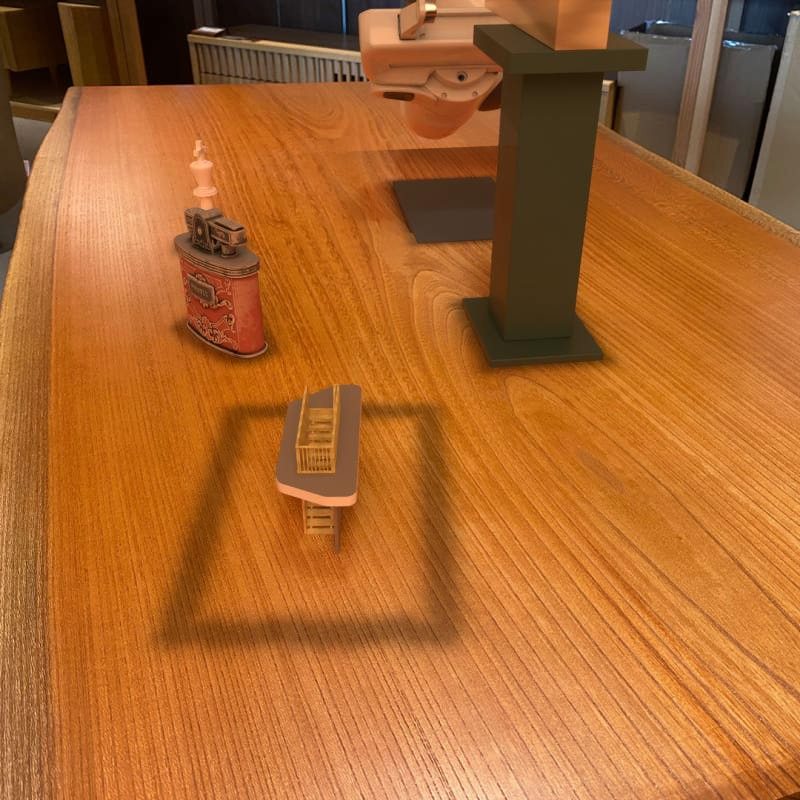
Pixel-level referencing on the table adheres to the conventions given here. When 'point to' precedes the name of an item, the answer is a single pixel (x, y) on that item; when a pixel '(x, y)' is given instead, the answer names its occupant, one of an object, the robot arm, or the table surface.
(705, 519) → the table surface
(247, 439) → the table surface
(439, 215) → the mat
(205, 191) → the chess piece
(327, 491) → the platform
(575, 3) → the ash bar
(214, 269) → the lighter
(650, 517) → the table surface
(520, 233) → the stand
